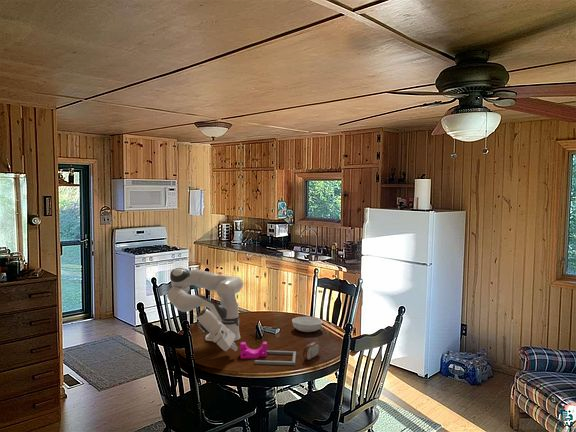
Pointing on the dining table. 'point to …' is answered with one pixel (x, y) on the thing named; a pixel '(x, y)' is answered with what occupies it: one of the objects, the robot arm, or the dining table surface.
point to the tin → (311, 350)
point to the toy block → (253, 351)
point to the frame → (278, 361)
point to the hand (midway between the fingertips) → (236, 349)
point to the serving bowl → (307, 324)
